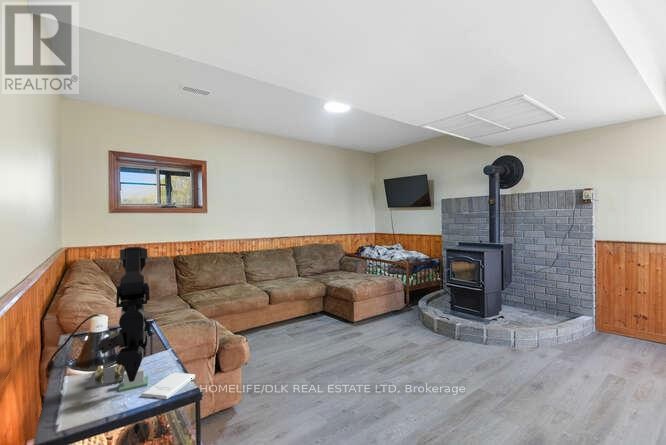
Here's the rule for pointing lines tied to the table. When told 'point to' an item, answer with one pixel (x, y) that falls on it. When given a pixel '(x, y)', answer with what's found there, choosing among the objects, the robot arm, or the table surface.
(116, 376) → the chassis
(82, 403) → the table surface
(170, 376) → the external hard drive
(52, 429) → the table surface
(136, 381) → the green u-channel holder
